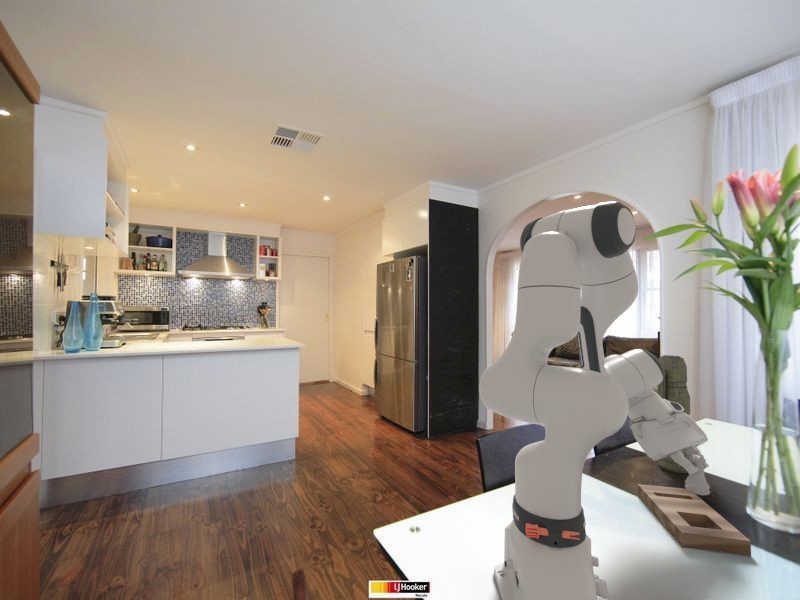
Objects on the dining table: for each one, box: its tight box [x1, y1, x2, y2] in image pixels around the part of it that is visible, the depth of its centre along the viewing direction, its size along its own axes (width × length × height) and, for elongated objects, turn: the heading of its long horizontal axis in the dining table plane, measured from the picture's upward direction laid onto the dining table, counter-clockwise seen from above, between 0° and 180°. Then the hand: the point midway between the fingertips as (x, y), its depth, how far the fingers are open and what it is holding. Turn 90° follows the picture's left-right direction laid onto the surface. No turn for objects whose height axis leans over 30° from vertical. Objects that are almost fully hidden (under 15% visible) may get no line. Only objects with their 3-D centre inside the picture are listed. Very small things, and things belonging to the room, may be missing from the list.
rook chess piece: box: [684, 452, 711, 496], centre depth 80 cm, size 4×4×8 cm
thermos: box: [655, 354, 691, 474], centre depth 115 cm, size 9×12×35 cm
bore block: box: [637, 483, 752, 557], centre depth 84 cm, size 22×12×3 cm, turn 167°
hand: (700, 470), depth 80 cm, fingers closed on rook chess piece, 3 cm apart
